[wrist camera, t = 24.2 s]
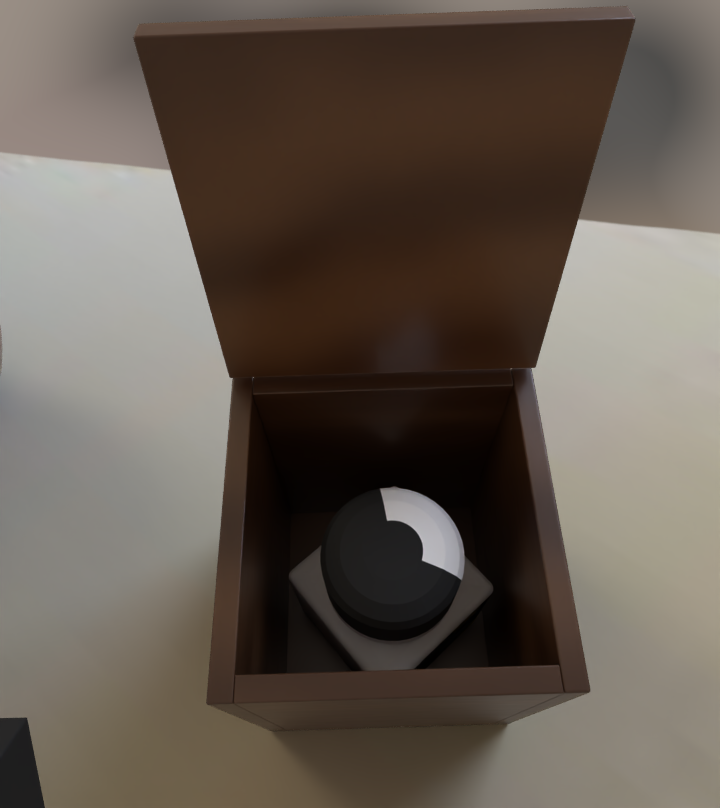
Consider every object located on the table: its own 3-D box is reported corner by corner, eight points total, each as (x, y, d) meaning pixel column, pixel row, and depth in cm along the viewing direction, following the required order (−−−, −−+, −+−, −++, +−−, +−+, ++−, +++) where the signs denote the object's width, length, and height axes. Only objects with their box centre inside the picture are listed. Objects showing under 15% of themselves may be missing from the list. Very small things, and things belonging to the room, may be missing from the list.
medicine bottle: (383, 710, 35) (386, 683, 24) (299, 606, 38) (270, 542, 27) (477, 618, 37) (517, 557, 27) (391, 526, 40) (397, 438, 29)
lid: (637, 18, 17) (629, 4, 17) (132, 36, 17) (138, 22, 17) (535, 368, 27) (532, 354, 28) (229, 378, 27) (231, 364, 28)
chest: (509, 723, 35) (591, 692, 22) (270, 731, 35) (205, 704, 22) (481, 498, 41) (531, 366, 28) (278, 505, 42) (232, 376, 28)
